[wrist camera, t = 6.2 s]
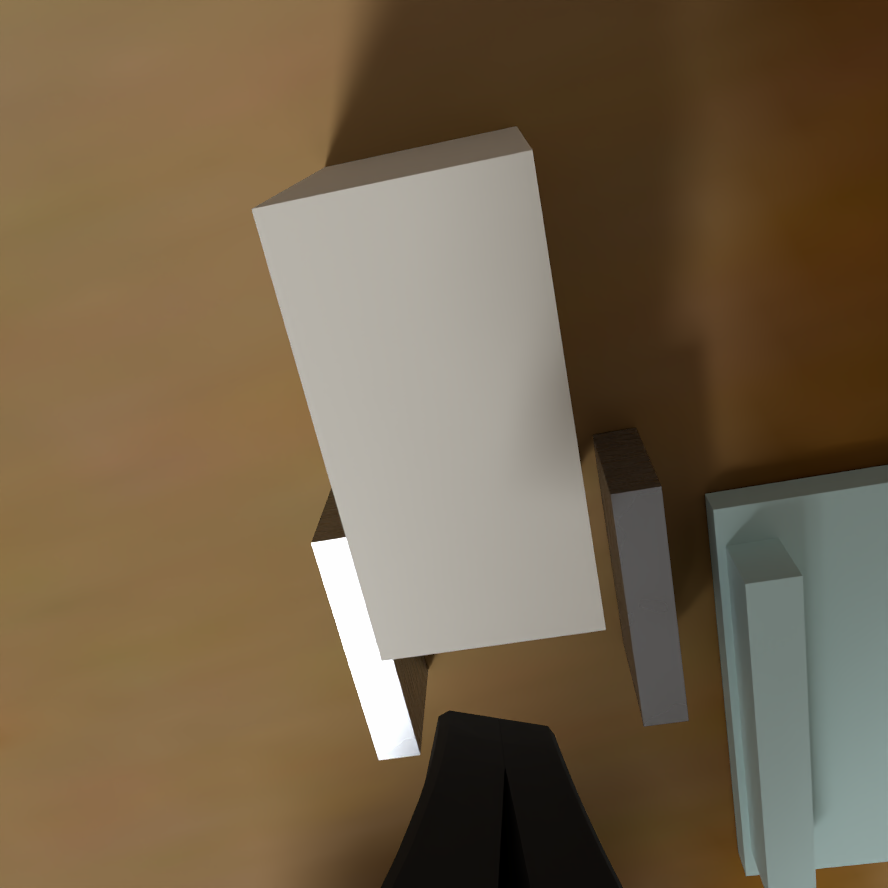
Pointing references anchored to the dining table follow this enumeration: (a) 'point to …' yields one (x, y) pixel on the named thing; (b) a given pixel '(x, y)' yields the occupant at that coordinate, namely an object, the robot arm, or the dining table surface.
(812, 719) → the cradle
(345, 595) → the channel
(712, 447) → the dining table surface
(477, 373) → the white block
